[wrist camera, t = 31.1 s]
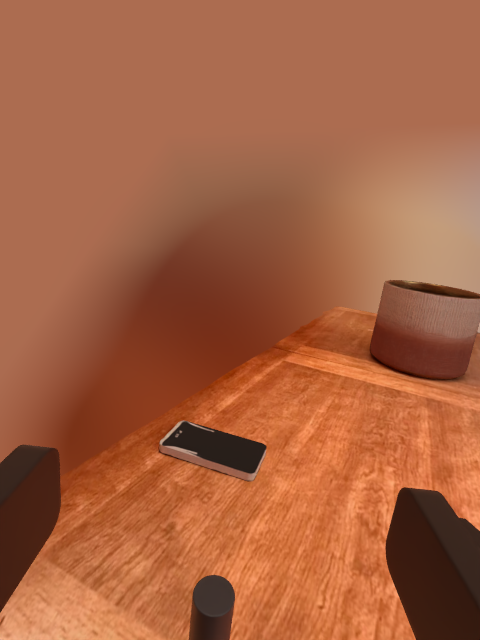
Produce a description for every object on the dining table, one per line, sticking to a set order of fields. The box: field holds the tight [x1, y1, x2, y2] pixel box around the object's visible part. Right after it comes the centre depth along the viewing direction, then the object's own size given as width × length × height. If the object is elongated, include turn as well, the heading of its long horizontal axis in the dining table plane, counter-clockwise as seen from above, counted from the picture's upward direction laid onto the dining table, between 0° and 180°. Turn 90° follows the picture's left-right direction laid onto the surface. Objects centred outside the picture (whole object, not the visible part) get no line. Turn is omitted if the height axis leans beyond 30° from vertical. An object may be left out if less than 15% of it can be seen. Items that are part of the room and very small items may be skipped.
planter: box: [370, 280, 480, 379], centre depth 101 cm, size 25×25×22 cm
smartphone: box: [159, 421, 266, 481], centre depth 55 cm, size 8×1×15 cm
